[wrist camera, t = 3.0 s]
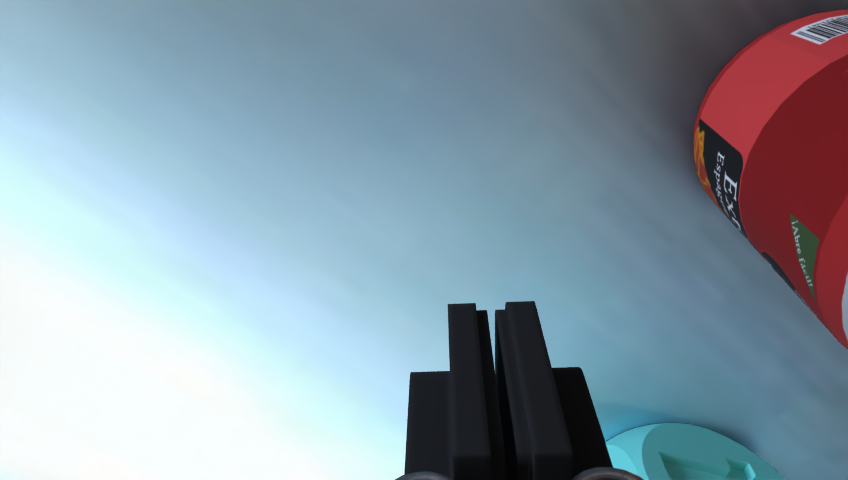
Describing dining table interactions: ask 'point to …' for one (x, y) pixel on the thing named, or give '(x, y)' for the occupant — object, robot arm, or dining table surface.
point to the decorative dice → (685, 455)
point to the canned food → (786, 156)
